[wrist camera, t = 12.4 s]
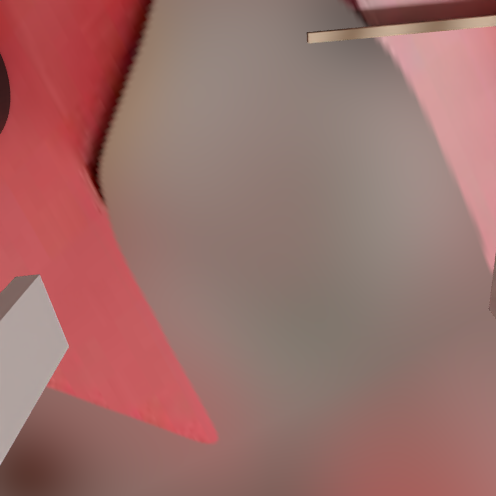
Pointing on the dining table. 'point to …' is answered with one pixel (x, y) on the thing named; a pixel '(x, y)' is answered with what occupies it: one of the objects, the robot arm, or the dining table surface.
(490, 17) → the channel
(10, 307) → the robot arm
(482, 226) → the dining table surface
